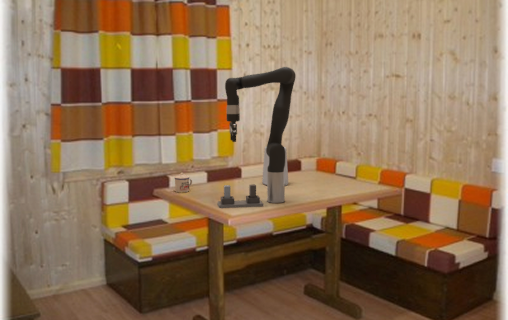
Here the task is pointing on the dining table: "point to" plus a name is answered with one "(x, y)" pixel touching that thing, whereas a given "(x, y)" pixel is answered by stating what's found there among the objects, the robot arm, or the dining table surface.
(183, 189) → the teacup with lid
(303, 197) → the dining table surface
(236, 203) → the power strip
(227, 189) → the plug
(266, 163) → the plastic bottle
